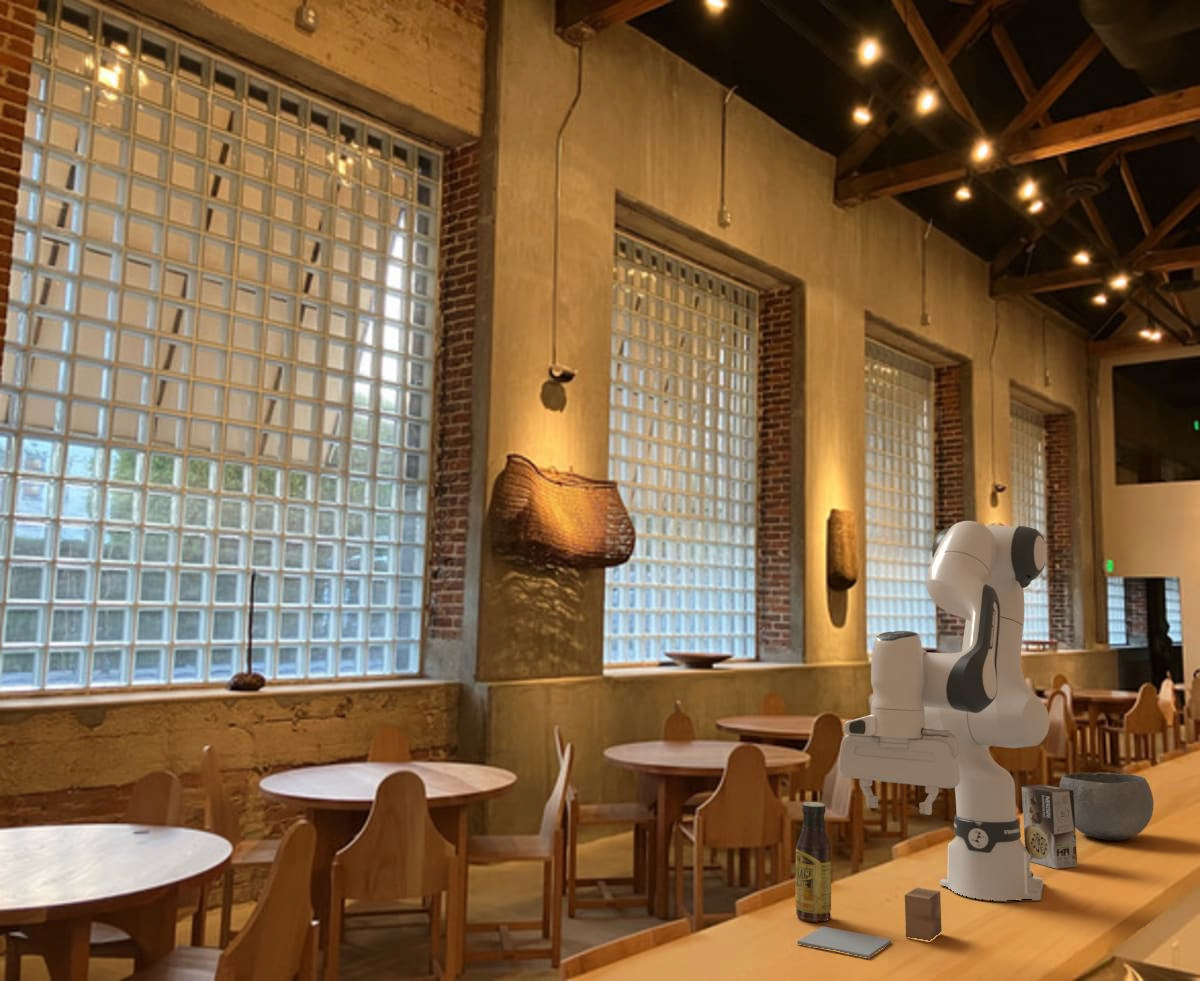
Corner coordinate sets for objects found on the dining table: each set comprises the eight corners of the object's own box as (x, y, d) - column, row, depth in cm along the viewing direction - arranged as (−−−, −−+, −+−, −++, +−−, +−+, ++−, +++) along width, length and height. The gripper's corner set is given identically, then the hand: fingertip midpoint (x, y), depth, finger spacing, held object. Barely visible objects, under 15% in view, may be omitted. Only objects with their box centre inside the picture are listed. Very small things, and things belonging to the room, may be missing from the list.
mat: (822, 930, 176) (822, 926, 176) (891, 943, 169) (891, 939, 169) (797, 944, 168) (797, 941, 168) (868, 959, 161) (868, 955, 161)
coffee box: (1079, 867, 222) (1075, 789, 224) (1055, 869, 219) (1052, 791, 221) (1046, 857, 230) (1042, 783, 232) (1023, 860, 228) (1020, 785, 230)
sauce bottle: (789, 915, 185) (787, 801, 187) (819, 912, 187) (816, 799, 189) (808, 925, 179) (806, 807, 181) (839, 922, 181) (837, 805, 183)
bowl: (1134, 830, 260) (1131, 769, 262) (1171, 848, 240) (1167, 782, 242) (1049, 828, 262) (1047, 768, 264) (1078, 846, 242) (1075, 780, 244)
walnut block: (918, 930, 177) (916, 887, 178) (941, 934, 174) (940, 891, 175) (906, 938, 172) (904, 895, 173) (929, 943, 170) (928, 898, 170)
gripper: (965, 730, 172) (966, 816, 170) (851, 722, 185) (851, 802, 183) (950, 731, 167) (952, 820, 165) (835, 723, 180) (835, 805, 178)
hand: (898, 810), depth 174 cm, fingers open, 8 cm apart
